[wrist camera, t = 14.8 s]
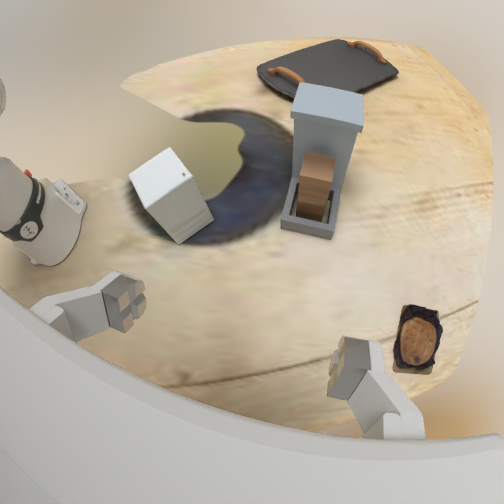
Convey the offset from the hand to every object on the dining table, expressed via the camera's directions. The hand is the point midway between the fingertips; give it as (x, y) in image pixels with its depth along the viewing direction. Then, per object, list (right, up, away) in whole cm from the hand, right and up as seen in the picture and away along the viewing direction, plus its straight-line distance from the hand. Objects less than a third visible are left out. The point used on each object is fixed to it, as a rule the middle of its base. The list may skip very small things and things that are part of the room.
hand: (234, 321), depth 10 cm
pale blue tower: (+11, +12, +34) cm, 38 cm away
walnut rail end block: (+10, +9, +33) cm, 36 cm away
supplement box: (-10, +8, +35) cm, 38 cm away
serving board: (+21, +49, +48) cm, 72 cm away
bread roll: (+26, -11, +25) cm, 38 cm away
